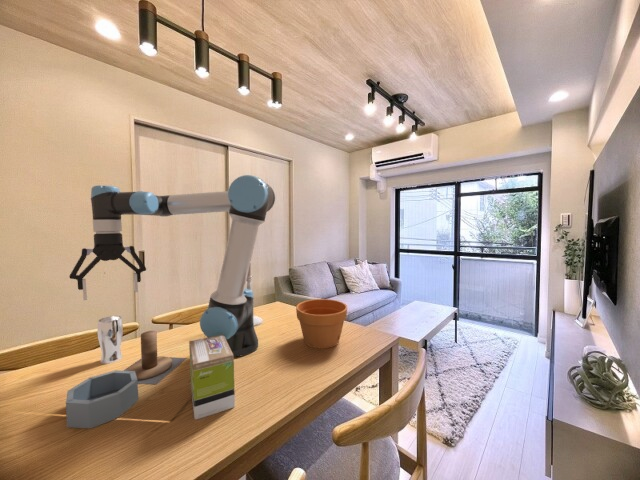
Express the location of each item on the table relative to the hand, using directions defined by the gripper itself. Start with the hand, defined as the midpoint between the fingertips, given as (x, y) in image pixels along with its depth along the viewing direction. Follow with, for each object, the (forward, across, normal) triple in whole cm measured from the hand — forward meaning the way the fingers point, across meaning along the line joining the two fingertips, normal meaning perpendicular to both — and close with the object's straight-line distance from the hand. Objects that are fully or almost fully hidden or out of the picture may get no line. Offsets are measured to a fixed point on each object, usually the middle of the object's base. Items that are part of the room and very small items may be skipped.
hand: (111, 295), depth 90 cm
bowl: (+24, +5, +25) cm, 36 cm away
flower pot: (+26, -65, +35) cm, 78 cm away
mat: (+24, -8, +12) cm, 28 cm away
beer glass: (+24, +1, -4) cm, 24 cm away
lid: (+24, -8, +13) cm, 28 cm away
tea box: (+25, -17, +41) cm, 51 cm away
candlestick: (+25, -53, -4) cm, 59 cm away
